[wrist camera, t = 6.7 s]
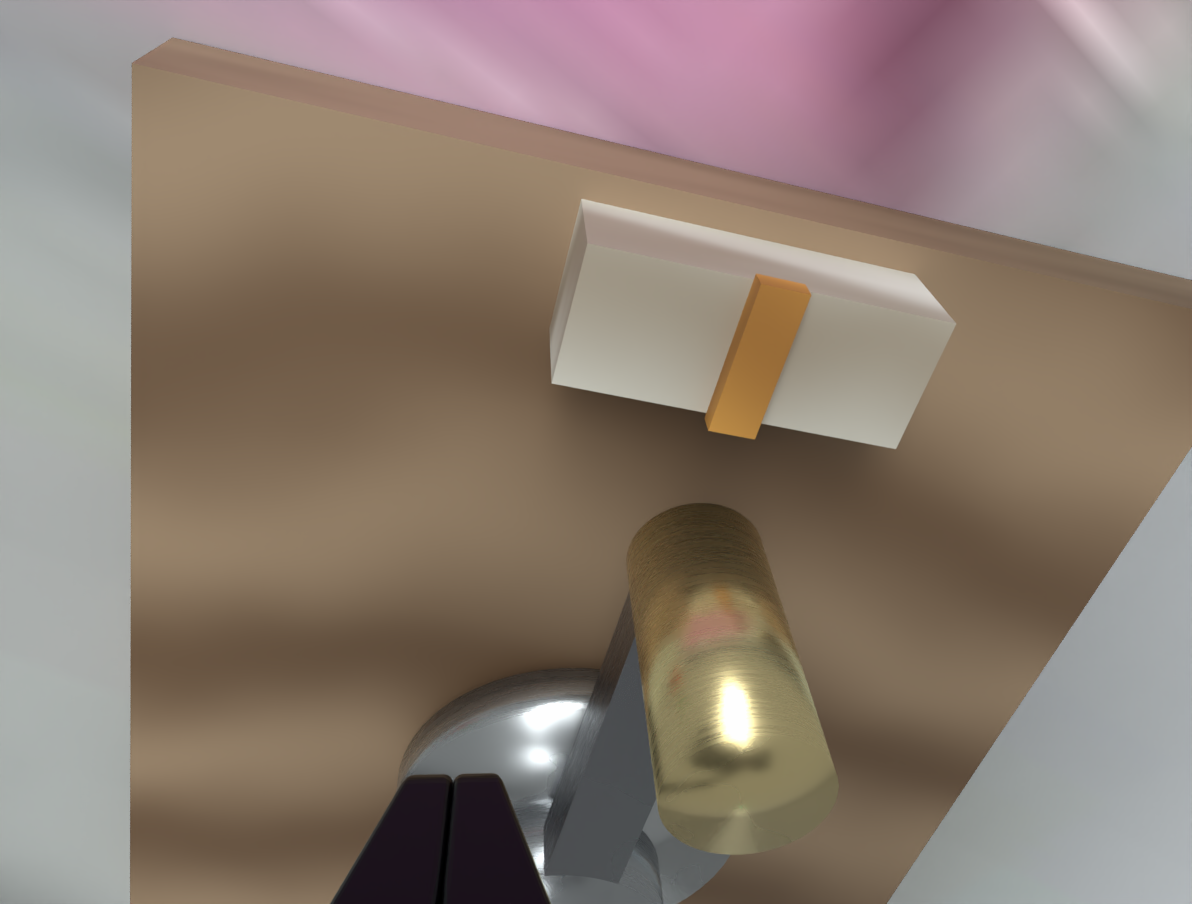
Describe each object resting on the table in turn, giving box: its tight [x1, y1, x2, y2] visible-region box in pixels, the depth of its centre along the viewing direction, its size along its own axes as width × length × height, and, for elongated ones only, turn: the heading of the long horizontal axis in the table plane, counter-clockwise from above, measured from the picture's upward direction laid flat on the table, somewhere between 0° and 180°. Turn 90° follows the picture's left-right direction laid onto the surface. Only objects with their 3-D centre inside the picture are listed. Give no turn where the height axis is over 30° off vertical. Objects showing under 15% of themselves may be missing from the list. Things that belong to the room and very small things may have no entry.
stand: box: [130, 38, 1192, 904], centre depth 23 cm, size 24×20×4 cm
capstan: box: [396, 503, 839, 904], centre depth 19 cm, size 14×8×7 cm, turn 165°
